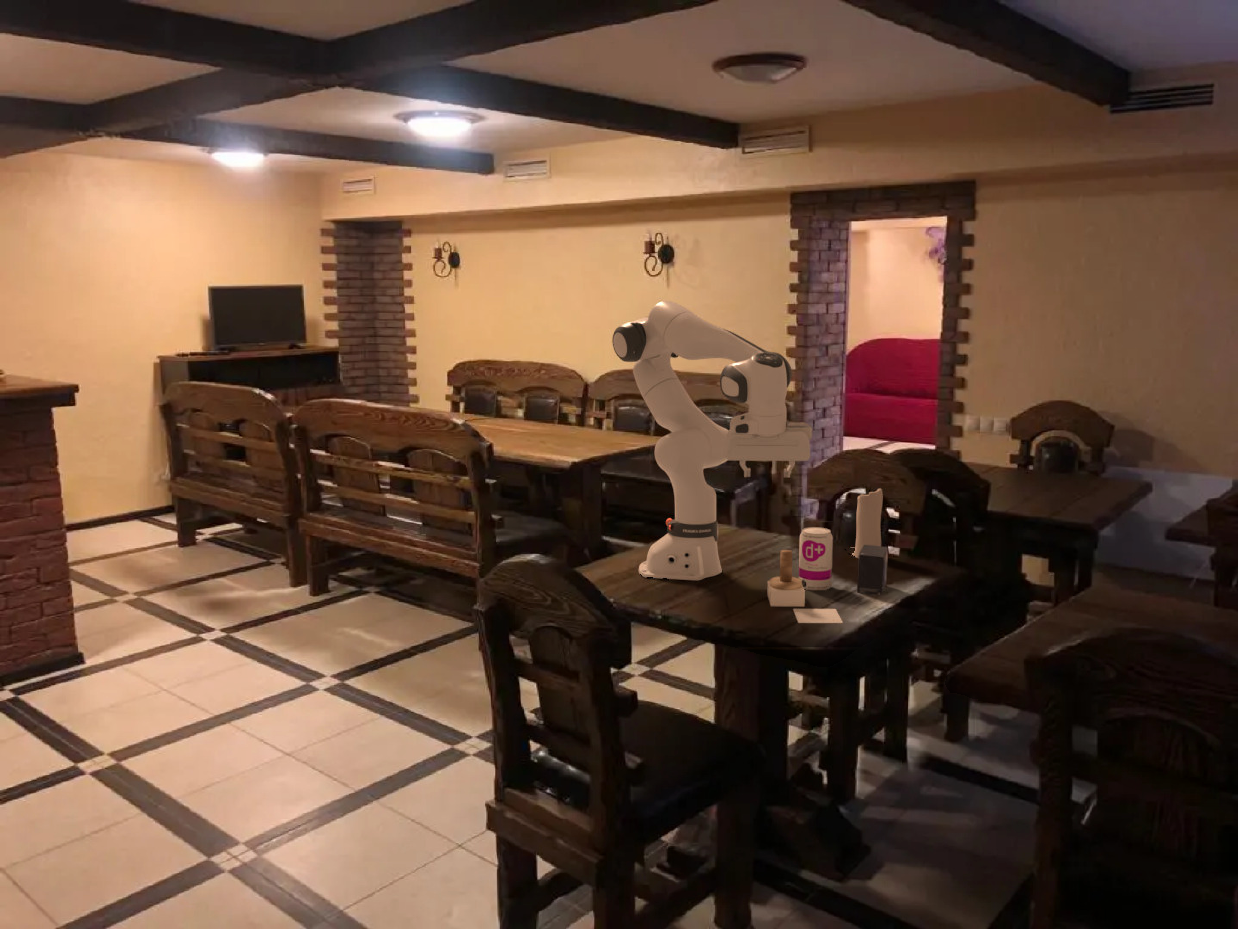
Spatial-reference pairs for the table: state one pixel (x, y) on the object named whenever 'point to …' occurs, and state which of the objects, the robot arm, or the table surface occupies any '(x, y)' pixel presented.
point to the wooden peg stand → (785, 574)
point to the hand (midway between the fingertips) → (767, 476)
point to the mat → (817, 616)
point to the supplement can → (815, 558)
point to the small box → (872, 569)
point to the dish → (786, 596)
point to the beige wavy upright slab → (868, 520)
